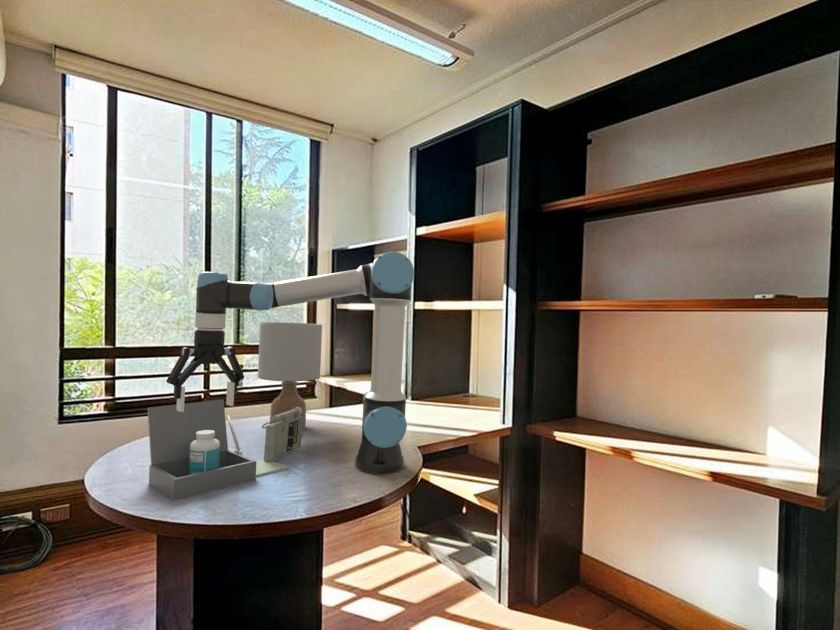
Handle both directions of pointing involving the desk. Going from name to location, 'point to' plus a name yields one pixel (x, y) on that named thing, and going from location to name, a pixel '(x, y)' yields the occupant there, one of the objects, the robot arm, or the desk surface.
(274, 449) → the geiger counter
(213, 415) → the case
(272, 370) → the lamp
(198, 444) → the pill bottle
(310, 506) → the desk surface
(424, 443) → the desk surface
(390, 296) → the robot arm
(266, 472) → the mat
